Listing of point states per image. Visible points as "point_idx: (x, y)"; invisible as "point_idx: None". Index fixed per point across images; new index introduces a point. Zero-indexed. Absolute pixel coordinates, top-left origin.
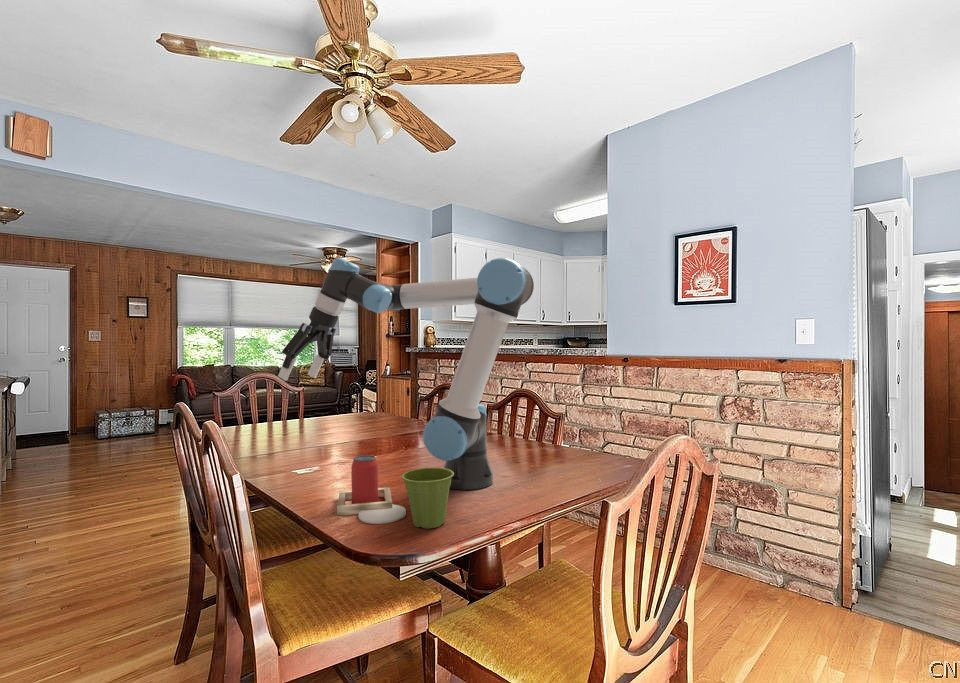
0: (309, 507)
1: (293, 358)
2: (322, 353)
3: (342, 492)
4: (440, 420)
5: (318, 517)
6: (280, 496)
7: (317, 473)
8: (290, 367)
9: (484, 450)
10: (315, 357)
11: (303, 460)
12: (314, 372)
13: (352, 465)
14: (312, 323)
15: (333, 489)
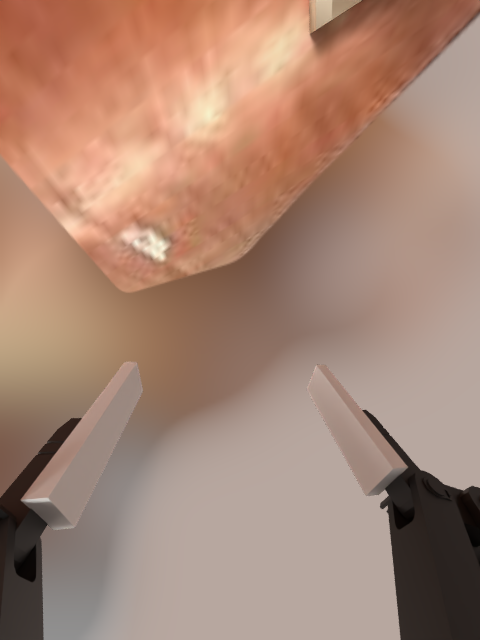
0: (348, 106)
1: (418, 474)
2: (16, 583)
3: (329, 6)
4: None
5: (430, 27)
6: (276, 208)
7: (155, 214)
8: (363, 414)
9: None
10: (86, 498)
11: (109, 274)
12: (128, 389)
13: None
14: None
15: (238, 109)
